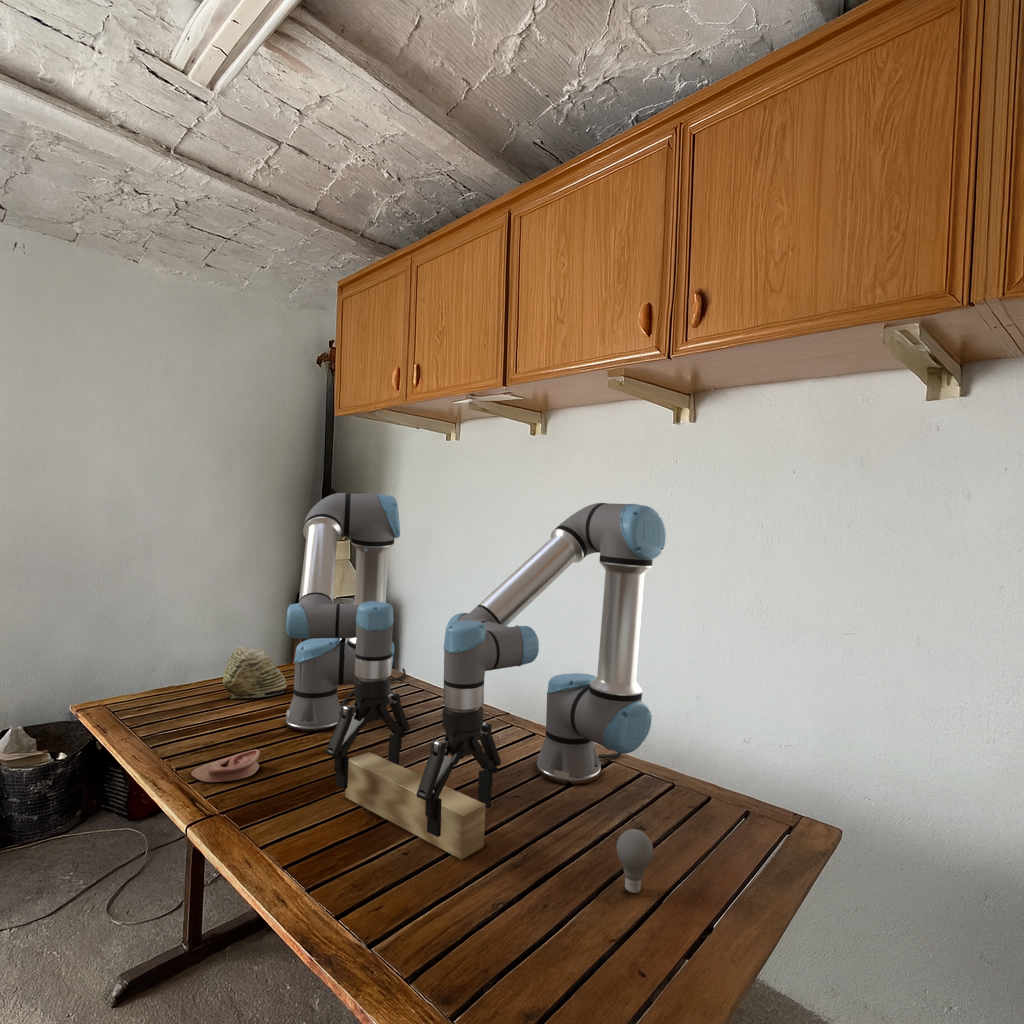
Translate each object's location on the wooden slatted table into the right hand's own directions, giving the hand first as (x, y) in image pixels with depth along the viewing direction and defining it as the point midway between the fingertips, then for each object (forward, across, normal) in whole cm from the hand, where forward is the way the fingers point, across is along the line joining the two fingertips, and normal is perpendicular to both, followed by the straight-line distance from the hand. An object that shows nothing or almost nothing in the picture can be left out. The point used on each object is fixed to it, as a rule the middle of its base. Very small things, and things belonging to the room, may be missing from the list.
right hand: (460, 819), depth 118 cm
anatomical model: (+4, +15, -59) cm, 61 cm away
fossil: (+5, -18, -106) cm, 107 cm away
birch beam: (+5, 0, -13) cm, 14 cm away
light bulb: (+5, -9, +31) cm, 33 cm away
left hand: (0, 0, -26) cm, 26 cm away
